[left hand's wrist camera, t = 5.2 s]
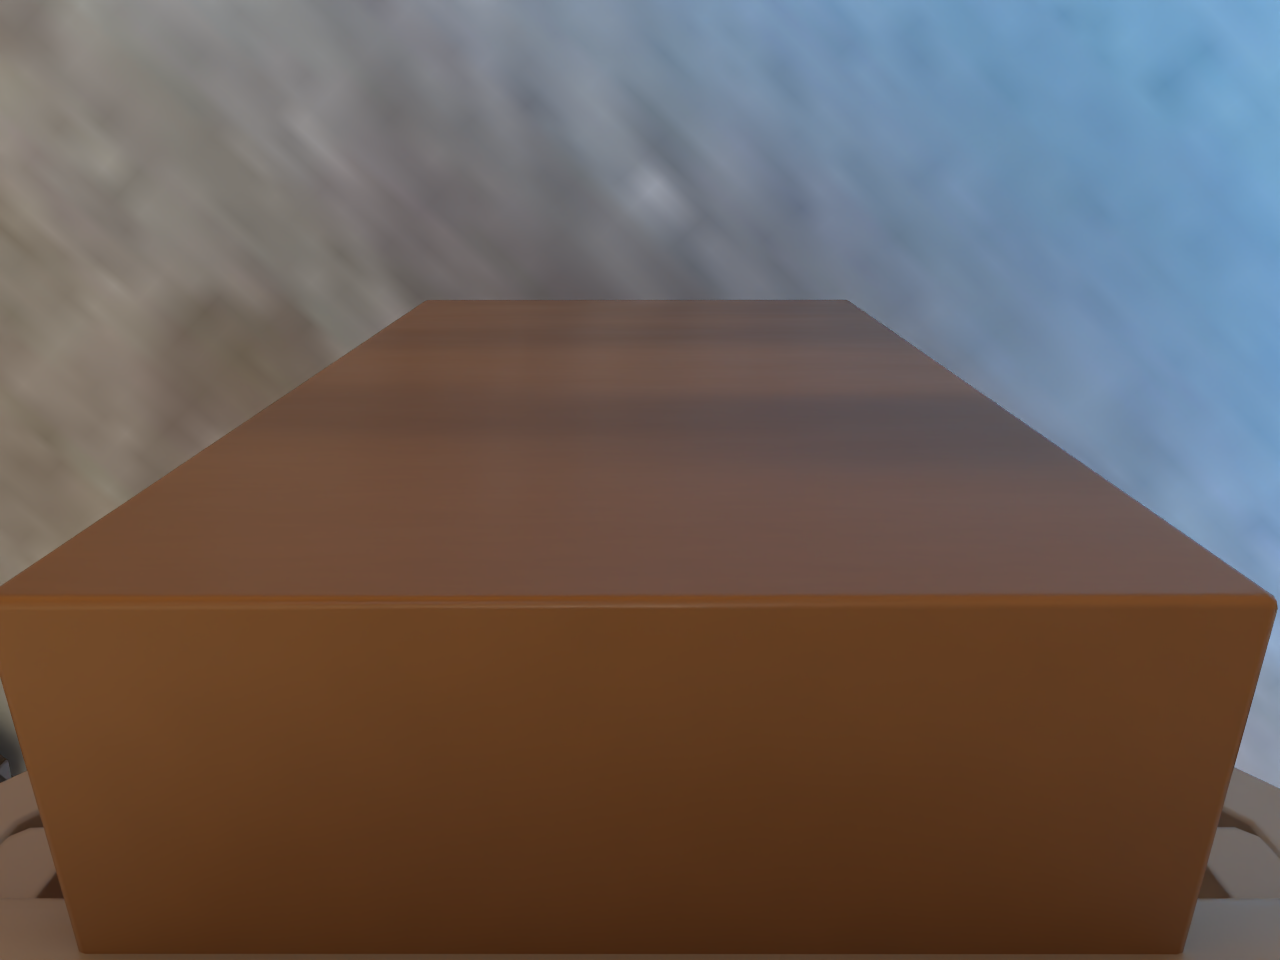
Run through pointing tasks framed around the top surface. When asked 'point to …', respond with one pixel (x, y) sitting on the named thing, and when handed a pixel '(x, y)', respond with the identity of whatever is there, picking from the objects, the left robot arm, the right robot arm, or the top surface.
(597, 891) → the bar
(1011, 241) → the top surface
